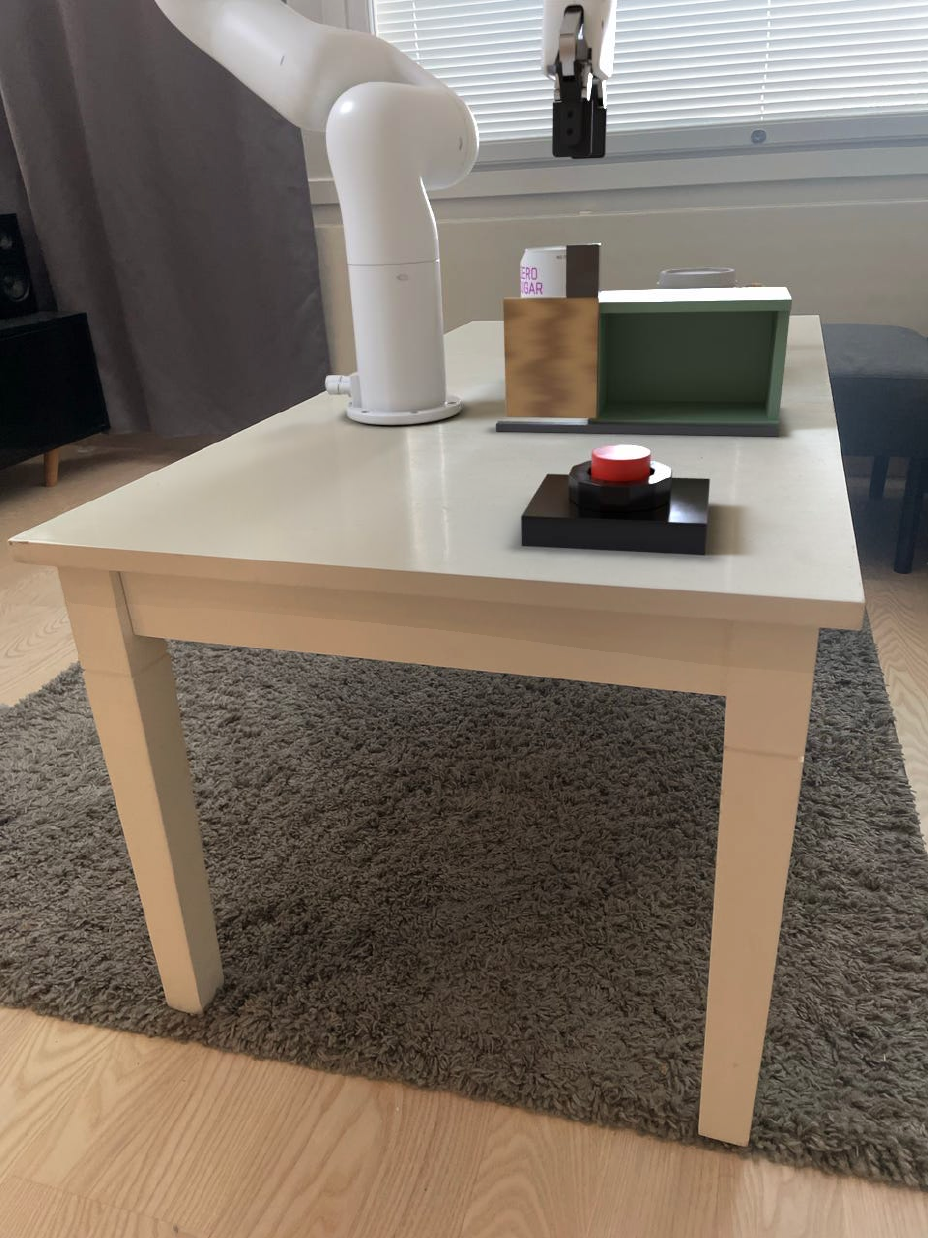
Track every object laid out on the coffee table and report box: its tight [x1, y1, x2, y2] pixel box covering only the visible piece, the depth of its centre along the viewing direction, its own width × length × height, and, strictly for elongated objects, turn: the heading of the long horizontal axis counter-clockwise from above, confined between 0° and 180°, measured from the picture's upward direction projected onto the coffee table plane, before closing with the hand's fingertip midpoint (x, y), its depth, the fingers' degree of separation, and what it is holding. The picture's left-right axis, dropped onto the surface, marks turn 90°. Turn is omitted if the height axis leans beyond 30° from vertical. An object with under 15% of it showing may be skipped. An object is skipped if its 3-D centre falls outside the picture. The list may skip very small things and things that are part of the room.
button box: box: [520, 459, 711, 556], centre depth 63 cm, size 12×10×4 cm
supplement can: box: [519, 245, 566, 297], centre depth 117 cm, size 8×8×15 cm
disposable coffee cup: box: [656, 267, 739, 290], centre depth 112 cm, size 10×10×12 cm
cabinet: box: [495, 286, 793, 438], centre depth 90 cm, size 27×11×12 cm, turn 75°
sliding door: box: [502, 242, 602, 419], centre depth 86 cm, size 9×1×16 cm, turn 75°
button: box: [590, 444, 652, 481], centre depth 62 cm, size 4×4×2 cm
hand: (580, 157), depth 80 cm, fingers open, 9 cm apart
